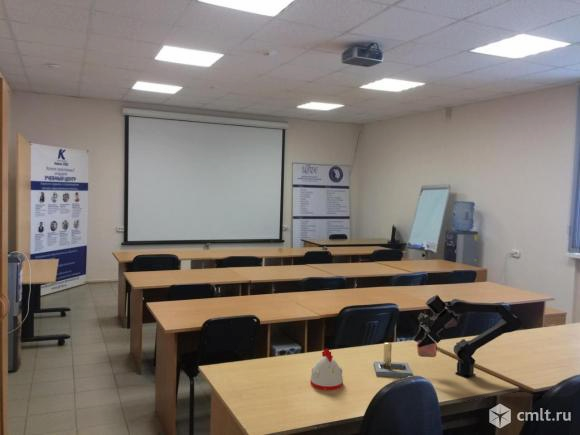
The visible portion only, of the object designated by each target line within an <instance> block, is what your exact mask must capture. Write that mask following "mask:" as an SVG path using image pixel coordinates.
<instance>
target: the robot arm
mask: <svg viewBox="0 0 580 435" xmlns="http://www.w3.org/2000/svg"><path fill="white" fill-rule="evenodd" d="M425 306H427V307H428V308H429V309H430V310H431V311H432V312H433V314H437V315H436V316H432V317H431V316H429V315H428V314H425V313H423V312H420V314H419V315H418V317H417V320H418V321H419V329H418V331H417V333H416V335H415V336H414V338H413V341H415V342H418V340H421V342H420V343H419V344H418V347H423V346H426V345H430V344H434V343H435V342H436V344H439V343H440V342H441V337H440V335H439V333H440V332H441V331H442V330H445V329H446V326H447V325H448V324H450V323H451V322H452V321H453V320H454V321H455V322H457V323H458V322H459V315H463V314H468V313H473V312H475V313H490V314H491V313H494V314H498V316H500V320H499V321H498V322H497V324H496V325H494V326H492V327H491V328H489V329H487V330H486V331H485V330H484V332H483V333H481V334H479V335H477V336H475V337H473V338H471V339H470V340H465V338H463V339H461V340H460V341H458V342H455V343H456V344H455V345H454V347H453V353H454V354H455V355H456V356H457V358H458V359H457V363H456V372H454V373H455V374H456V375H458V376H460V377H463V378H466V379H469V378H472V377H474V376H476V373H474V372H475V370H474V369H475V363H476V359H475V358H474V357H473V355H474V354H475V352H476V351H477V350H478V349H479V348H482V347H483V346H485V345H487V344H489V343H490V342H492V341H493V340H495V339H497V338H499V337H500V336H502V335H504V334H507V333H508V334H509V333H512V332H513V333H514V332H515V331H518V330H519V329H521V328H522V325H523V323H522V320H521V319H520V318H519V317H518V316H515V315H514V314H513V313H511V312H510V311H509V310H508V309H507V307H506V306H505V305H504V304H502V303H500V302H494V303H493V302H492V303H491V302H474V301H473V302H471V301H466V300H463V299H459V298H453V299H452V300H449V301H448V300H447V301H443V300H442V299H441V297H440V296H439V295H438V294H435V295H434V296H432V297H429V298H428V300H426V302H425ZM453 312H454V313H453Z"/></svg>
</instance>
